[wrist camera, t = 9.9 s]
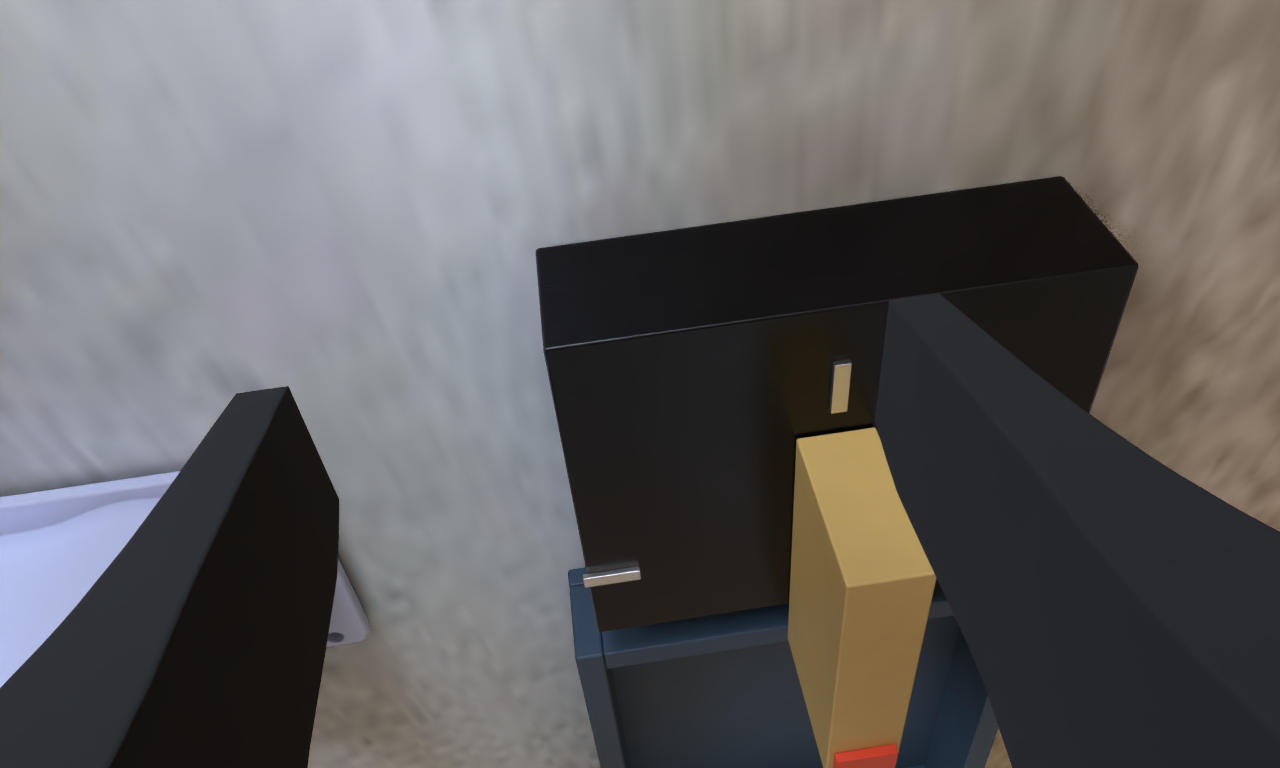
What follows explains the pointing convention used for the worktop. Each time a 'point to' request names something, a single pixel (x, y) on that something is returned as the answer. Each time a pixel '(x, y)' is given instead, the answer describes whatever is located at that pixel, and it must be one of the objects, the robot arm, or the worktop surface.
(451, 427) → the worktop surface
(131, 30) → the worktop surface
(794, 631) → the yellow-brown long block
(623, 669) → the tray
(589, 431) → the black cupboard
